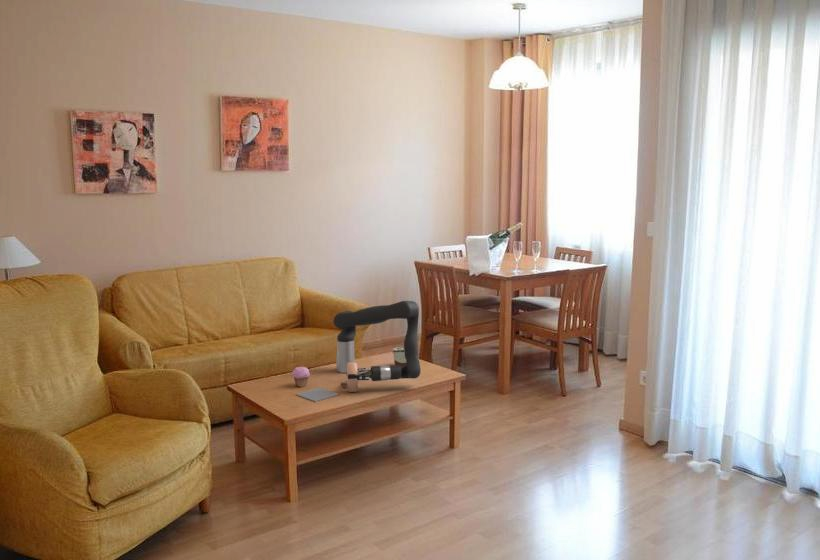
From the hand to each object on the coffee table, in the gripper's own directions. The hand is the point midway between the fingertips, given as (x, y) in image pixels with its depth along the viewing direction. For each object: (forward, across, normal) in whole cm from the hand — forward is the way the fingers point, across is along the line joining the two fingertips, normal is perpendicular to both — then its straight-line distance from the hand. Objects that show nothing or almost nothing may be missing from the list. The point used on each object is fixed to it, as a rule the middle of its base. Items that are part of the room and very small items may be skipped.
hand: (347, 375), depth 364 cm
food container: (-37, -42, +9) cm, 57 cm away
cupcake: (+22, -14, +9) cm, 28 cm away
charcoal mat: (+15, +3, +9) cm, 18 cm away
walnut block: (-1, -9, +9) cm, 13 cm away
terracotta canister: (-3, 0, +8) cm, 8 cm away
